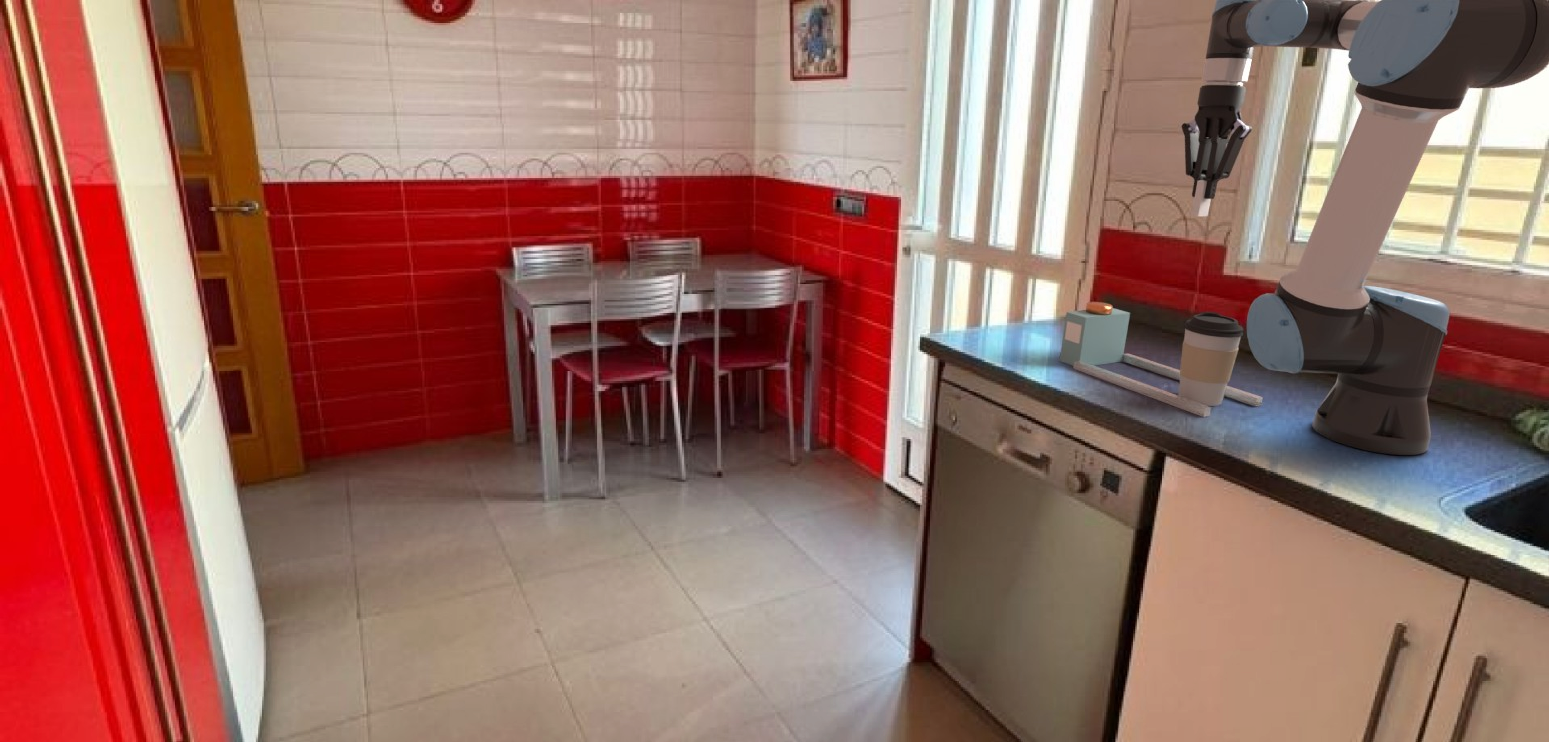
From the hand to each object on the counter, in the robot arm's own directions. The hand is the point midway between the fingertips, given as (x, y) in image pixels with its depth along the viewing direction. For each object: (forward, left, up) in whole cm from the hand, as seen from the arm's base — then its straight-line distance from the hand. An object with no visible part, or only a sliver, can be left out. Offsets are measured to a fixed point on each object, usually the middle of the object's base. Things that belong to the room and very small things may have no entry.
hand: (1199, 215), depth 159 cm
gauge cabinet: (+8, +14, -29) cm, 34 cm away
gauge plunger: (+7, +15, -24) cm, 29 cm away
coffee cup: (-17, +14, -30) cm, 37 cm away
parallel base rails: (-9, +14, -29) cm, 34 cm away
